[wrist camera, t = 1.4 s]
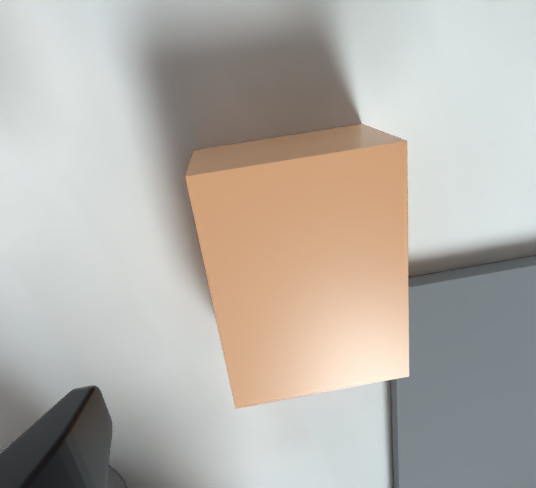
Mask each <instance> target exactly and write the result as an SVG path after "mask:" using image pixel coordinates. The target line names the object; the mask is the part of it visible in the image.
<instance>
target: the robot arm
mask: <svg viewBox="0 0 536 488" xmlns="http://www.w3.org/2000/svg"><path fill="white" fill-rule="evenodd" d="M111 440H112V421H111V417H110V415H109V412H108V409H107V407H106V404H105V401H104V399H103V396H102V393H101V391H100V389H99V388H98V387H97V386H87V387H82V388H76V389H73V390H72V391H70V392H69V393H68V394H67V395H66V396H65V397H64V398H62V399H61V400H60V401H59V402H58V403H57V404H56V405H55V406H53V407H52V408H51V409H50V410H49V411H48V412H47V413H46V414H44V415H43V416H42V417H41V418H40V419H39V420H38V421H37V422H36V423H34V424H33V425H32V426H31V427H30V428H29V429H28V430H27V431H25V432H24V433H23V434H22V435H21V436H20V437H19V438H18V439H16V440H15V441H14V442H13V443H12V444H11V445H10V446H9V447H8V448H6V449H5V450H4V451H3V452H2V453H1V454H0V488H106V480H107V472H108V464H109V456H110V448H111Z"/></svg>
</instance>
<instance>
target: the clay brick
mask: <svg viewBox="0 0 536 488" xmlns="http://www.w3.org/2000/svg"><path fill="white" fill-rule="evenodd" d="M185 178H186V183H187V188H188V192H189V197H190V201H191V206H192V211H193V215H194V220H195V224H196V229H197V234H198V238H199V243H200V247H201V252H202V257H203V261H204V266H205V270H206V275H207V280H208V284H209V289H210V293H211V298H212V303H213V307H214V312H215V316H216V321H217V326H218V330H219V335H220V339H221V344H222V349H223V353H224V358H225V362H226V367H227V372H228V376H229V381H230V385H231V390H232V395H233V399H234V404H235V408H236V409H237V408H242V407H247V406H253V405H258V404H263V403H269V402H274V401H280V400H285V399H290V398H296V397H301V396H306V395H312V394H317V393H323V392H328V391H333V390H339V389H344V388H350V387H355V386H360V385H366V384H371V383H376V382H382V381H387V380H393V379H398V378H403V377H409V298H408V186H407V141H406V140H403V139H401V138H398V137H395V136H393V135H390V134H387V133H385V132H382V131H380V130H377V129H374V128H372V127H369V126H366V125H364V124H356V125H350V126H344V127H337V128H331V129H325V130H318V131H312V132H305V133H299V134H293V135H286V136H280V137H274V138H267V139H261V140H255V141H248V142H242V143H235V144H229V145H223V146H216V147H210V148H204V149H197V150H193V153H192V156H191V159H190V163H189V166H188V169H187V172H186V175H185Z"/></svg>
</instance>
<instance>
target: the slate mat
mask: <svg viewBox="0 0 536 488" xmlns="http://www.w3.org/2000/svg"><path fill="white" fill-rule="evenodd" d="M408 298H409V377H403V378H398V379H393V380H391V407H392V441H393V475H394V488H536V256H530V257H524V258H519V259H513V260H507V261H501V262H496V263H490V264H484V265H479V266H473V267H467V268H461V269H456V270H450V271H444V272H438V273H433V274H427V275H421V276H415V277H410V278H408Z"/></svg>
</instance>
